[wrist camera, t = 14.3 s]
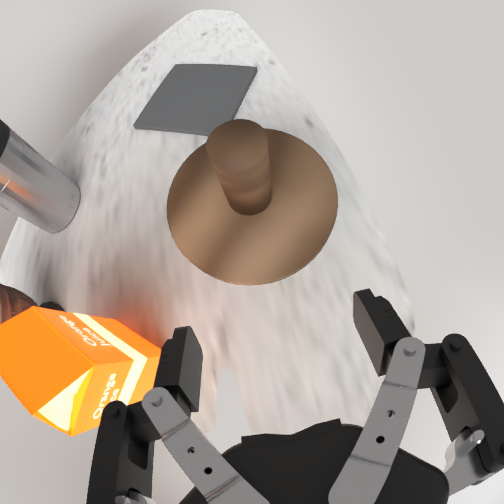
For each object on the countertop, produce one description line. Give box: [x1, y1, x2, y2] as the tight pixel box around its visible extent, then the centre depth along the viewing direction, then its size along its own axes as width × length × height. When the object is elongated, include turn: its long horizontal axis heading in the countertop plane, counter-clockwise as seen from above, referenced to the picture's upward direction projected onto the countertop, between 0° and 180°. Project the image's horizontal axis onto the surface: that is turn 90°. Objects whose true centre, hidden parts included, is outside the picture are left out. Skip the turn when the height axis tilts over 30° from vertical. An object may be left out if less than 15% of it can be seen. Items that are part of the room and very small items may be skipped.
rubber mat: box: [133, 64, 257, 136], centre depth 40 cm, size 16×16×1 cm
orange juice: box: [0, 306, 161, 436], centre depth 21 cm, size 8×9×20 cm
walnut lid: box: [167, 119, 338, 285], centre depth 20 cm, size 14×14×8 cm
